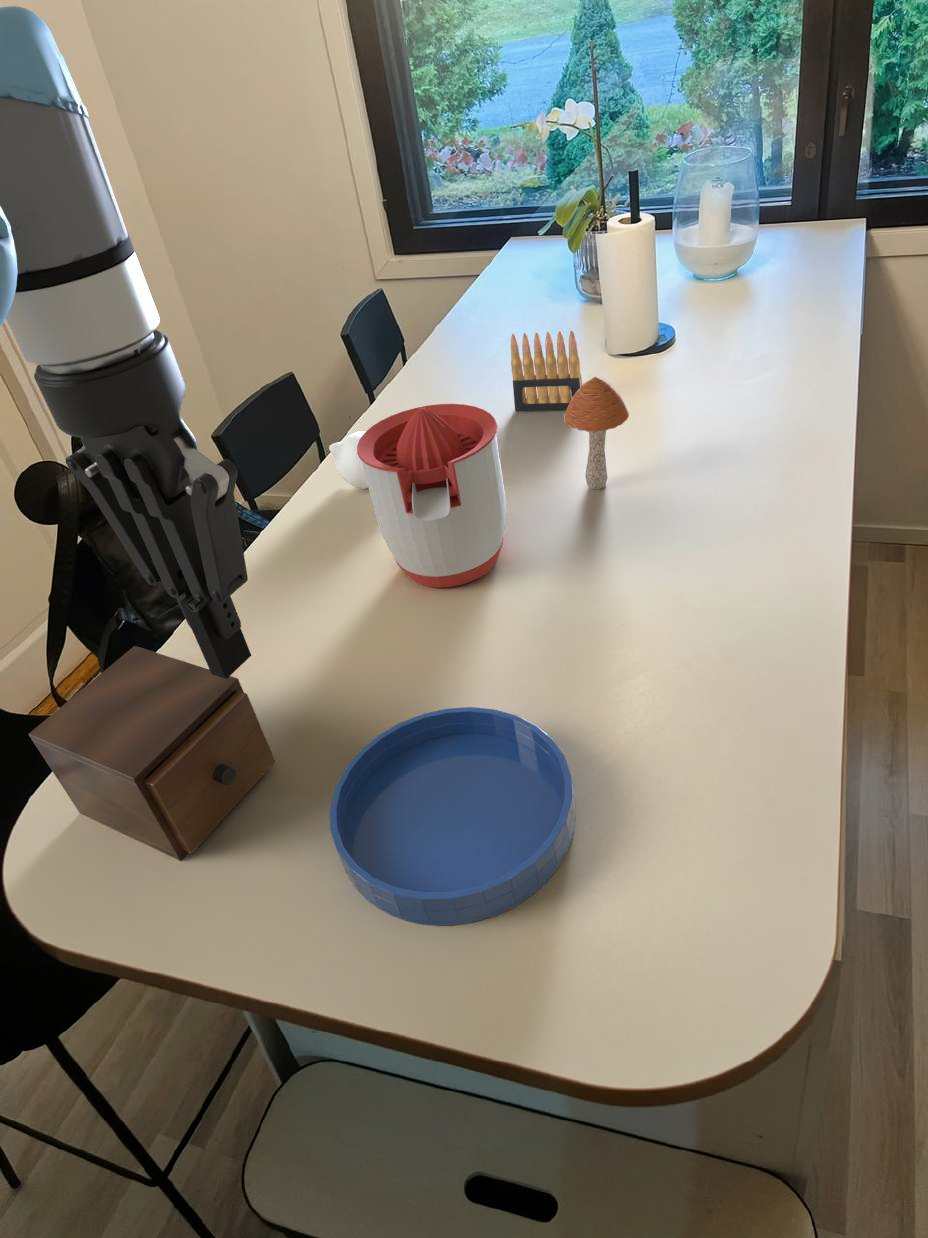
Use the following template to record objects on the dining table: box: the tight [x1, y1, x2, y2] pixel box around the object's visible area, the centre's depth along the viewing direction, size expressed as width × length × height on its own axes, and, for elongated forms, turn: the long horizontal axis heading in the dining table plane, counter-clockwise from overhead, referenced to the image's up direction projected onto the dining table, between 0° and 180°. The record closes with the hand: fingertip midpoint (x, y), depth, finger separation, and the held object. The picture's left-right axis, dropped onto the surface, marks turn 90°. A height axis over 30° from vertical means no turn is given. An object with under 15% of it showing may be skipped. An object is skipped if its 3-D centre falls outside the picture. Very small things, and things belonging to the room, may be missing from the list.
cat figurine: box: [328, 430, 369, 490], centre depth 121 cm, size 9×11×12 cm
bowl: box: [329, 706, 576, 927], centre depth 73 cm, size 20×20×4 cm
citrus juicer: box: [357, 403, 507, 588], centre depth 99 cm, size 16×17×20 cm
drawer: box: [144, 690, 276, 854], centre depth 78 cm, size 14×11×9 cm
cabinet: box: [28, 645, 245, 861], centre depth 79 cm, size 14×13×11 cm
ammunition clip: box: [510, 330, 583, 413], centre depth 131 cm, size 11×2×12 cm, turn 74°
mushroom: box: [563, 376, 630, 491], centre depth 110 cm, size 8×8×15 cm
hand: (231, 664), depth 63 cm, fingers closed
